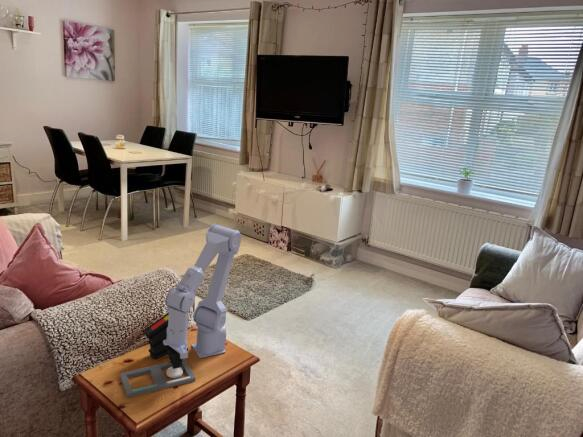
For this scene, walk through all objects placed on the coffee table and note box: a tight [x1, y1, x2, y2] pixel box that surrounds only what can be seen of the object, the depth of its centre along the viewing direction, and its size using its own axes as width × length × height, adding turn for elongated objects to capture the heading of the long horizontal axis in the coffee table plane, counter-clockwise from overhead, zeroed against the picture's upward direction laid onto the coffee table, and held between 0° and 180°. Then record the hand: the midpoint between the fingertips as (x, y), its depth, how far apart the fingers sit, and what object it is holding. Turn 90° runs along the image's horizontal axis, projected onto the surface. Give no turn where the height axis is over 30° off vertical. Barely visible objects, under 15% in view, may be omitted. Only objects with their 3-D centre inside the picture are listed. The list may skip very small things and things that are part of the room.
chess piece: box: [165, 367, 184, 379], centre depth 133 cm, size 5×5×10 cm
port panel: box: [119, 358, 196, 398], centre depth 132 cm, size 20×10×1 cm, turn 122°
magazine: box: [143, 311, 169, 361], centre depth 142 cm, size 4×13×15 cm, turn 133°
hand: (175, 365), depth 134 cm, fingers closed on chess piece
